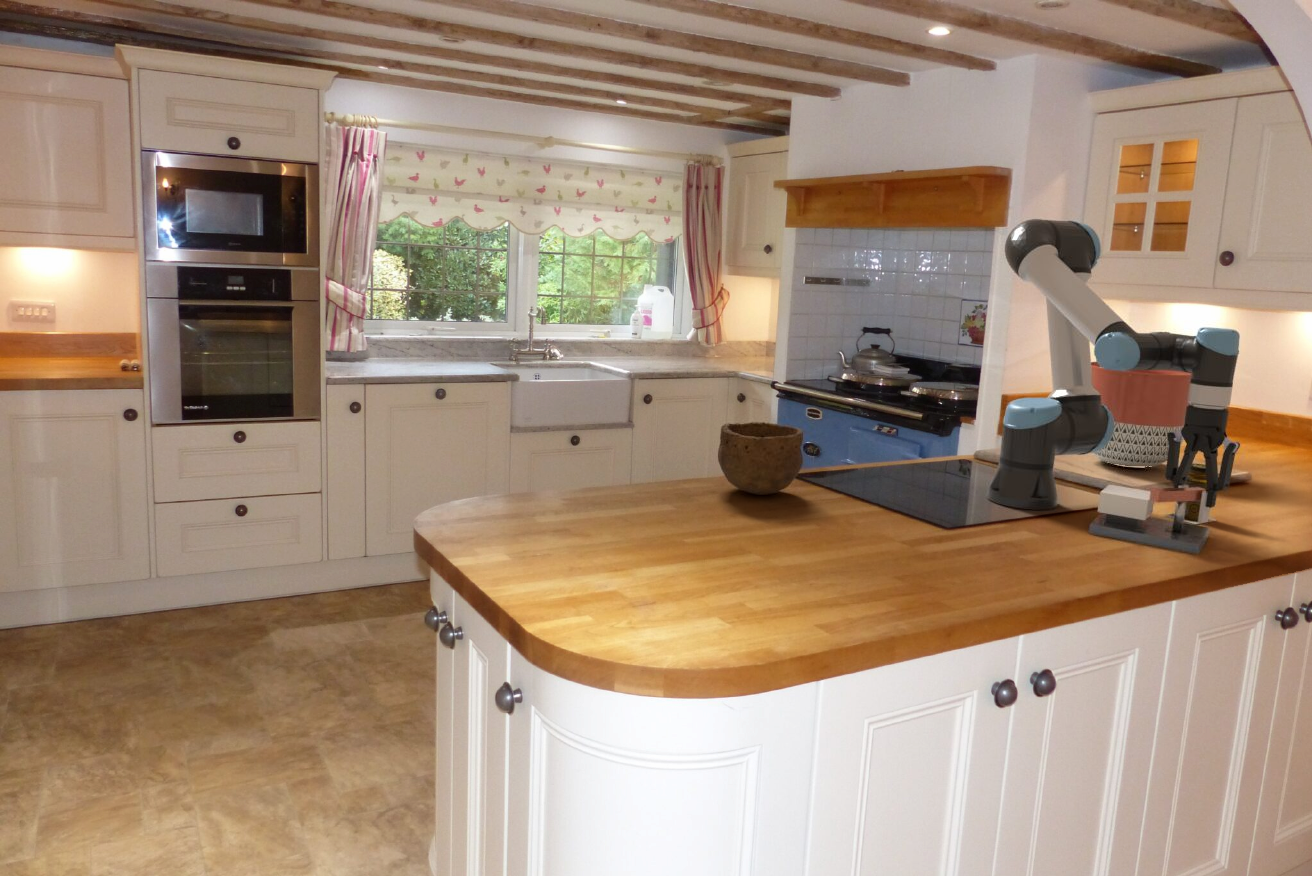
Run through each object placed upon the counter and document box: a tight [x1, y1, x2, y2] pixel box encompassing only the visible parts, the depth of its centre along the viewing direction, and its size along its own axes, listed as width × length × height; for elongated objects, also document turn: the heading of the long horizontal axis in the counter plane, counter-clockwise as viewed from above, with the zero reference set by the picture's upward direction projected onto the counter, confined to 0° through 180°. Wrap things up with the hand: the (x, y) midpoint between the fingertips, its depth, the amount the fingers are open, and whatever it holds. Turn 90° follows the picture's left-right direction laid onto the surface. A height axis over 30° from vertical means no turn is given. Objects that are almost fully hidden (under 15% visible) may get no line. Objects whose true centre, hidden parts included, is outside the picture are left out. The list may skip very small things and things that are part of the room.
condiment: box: [1164, 462, 1216, 525], centre depth 221 cm, size 7×8×12 cm
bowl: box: [717, 421, 804, 496], centre depth 224 cm, size 19×19×15 cm
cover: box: [1097, 484, 1155, 520], centre depth 209 cm, size 9×9×4 cm
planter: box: [1091, 361, 1191, 467], centre depth 273 cm, size 27×27×27 cm
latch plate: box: [1088, 512, 1210, 556], centre depth 206 cm, size 20×16×7 cm
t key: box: [1150, 487, 1205, 531], centre depth 203 cm, size 12×2×8 cm, turn 107°
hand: (1190, 518), depth 205 cm, fingers open, 4 cm apart
